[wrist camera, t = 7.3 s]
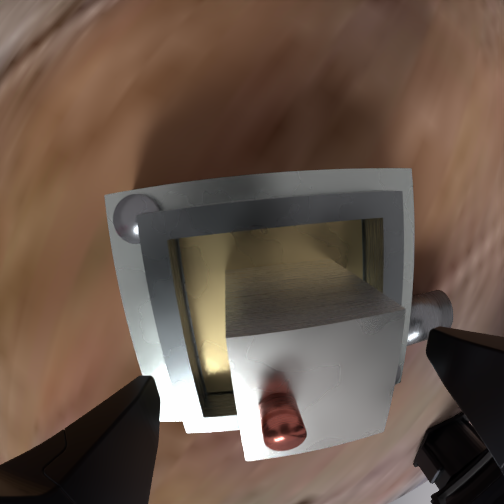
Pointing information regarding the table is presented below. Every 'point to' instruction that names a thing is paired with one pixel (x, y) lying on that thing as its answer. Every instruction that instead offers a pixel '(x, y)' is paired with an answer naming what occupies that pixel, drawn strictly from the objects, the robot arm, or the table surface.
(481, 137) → the table surface
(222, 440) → the table surface
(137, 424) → the robot arm
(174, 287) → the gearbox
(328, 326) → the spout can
